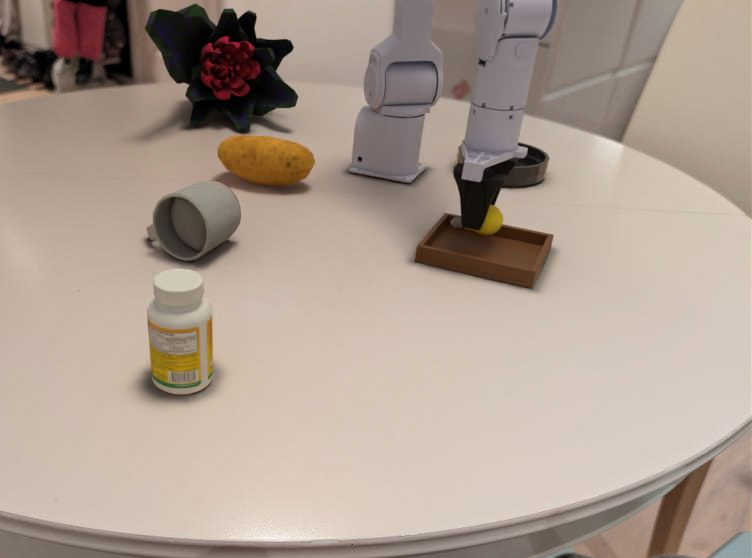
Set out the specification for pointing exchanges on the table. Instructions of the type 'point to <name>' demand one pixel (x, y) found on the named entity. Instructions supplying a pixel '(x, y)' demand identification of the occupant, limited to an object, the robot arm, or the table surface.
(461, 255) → the tray
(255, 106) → the decorative plant
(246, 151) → the potato
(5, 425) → the table surface
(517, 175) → the pan
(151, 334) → the supplement bottle
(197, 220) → the ceramic mug
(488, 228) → the light bulb
